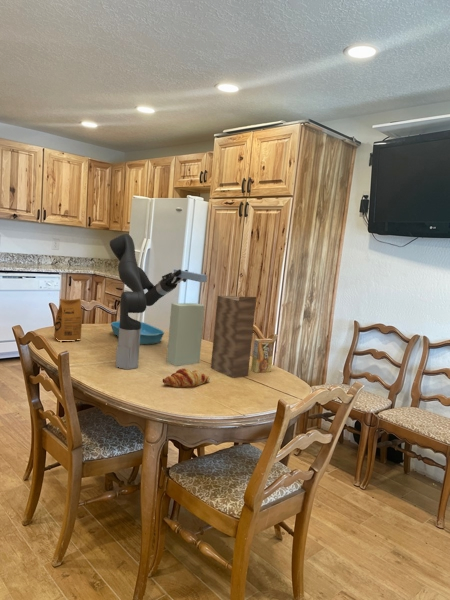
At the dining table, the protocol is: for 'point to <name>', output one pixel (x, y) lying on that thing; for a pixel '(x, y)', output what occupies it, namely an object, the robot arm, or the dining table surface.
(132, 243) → the robot arm
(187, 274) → the rail
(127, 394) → the dining table surface
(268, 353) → the candy box
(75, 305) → the coffee package
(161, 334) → the casserole dish
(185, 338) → the step
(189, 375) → the croissant
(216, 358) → the post
